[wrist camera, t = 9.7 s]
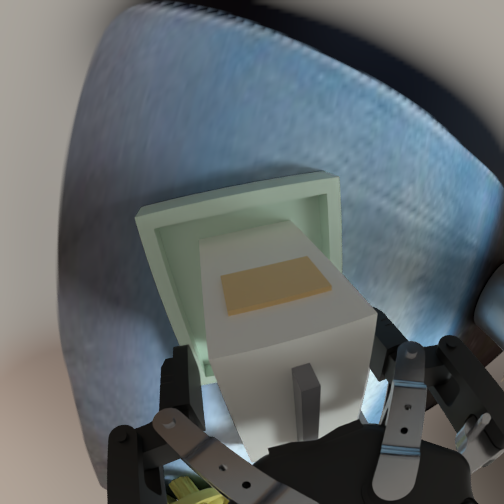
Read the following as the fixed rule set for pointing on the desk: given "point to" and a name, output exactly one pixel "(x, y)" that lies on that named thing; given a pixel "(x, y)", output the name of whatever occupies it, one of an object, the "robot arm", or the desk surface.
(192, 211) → the tray
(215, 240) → the labeled white box
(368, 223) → the desk surface
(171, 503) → the plastic component
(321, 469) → the robot arm
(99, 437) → the desk surface
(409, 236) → the desk surface
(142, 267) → the desk surface
